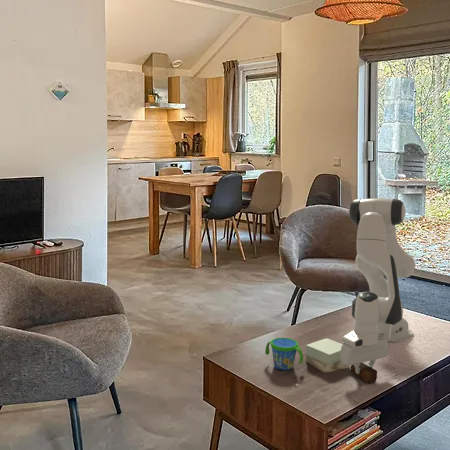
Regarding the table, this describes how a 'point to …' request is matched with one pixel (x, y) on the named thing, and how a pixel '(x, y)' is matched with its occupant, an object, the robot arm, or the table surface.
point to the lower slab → (325, 365)
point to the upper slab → (324, 350)
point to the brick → (365, 373)
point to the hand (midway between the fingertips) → (363, 371)
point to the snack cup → (284, 352)
